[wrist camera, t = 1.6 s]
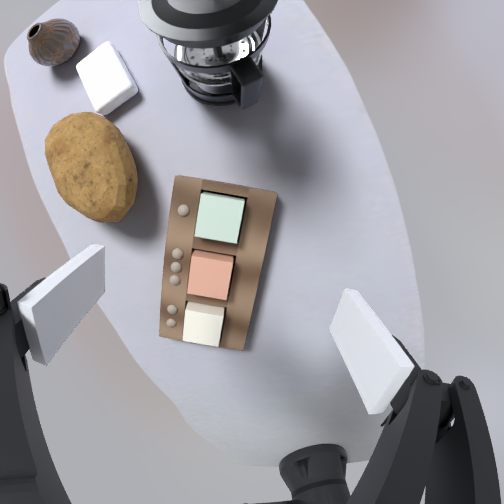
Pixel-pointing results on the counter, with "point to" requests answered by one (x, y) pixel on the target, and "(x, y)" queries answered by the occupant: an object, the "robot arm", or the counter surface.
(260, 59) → the french press
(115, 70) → the soap
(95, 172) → the potato
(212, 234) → the sage button
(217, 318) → the cream button
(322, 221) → the counter surface
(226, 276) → the terracotta button
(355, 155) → the counter surface
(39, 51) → the vase
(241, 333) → the console
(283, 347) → the counter surface
